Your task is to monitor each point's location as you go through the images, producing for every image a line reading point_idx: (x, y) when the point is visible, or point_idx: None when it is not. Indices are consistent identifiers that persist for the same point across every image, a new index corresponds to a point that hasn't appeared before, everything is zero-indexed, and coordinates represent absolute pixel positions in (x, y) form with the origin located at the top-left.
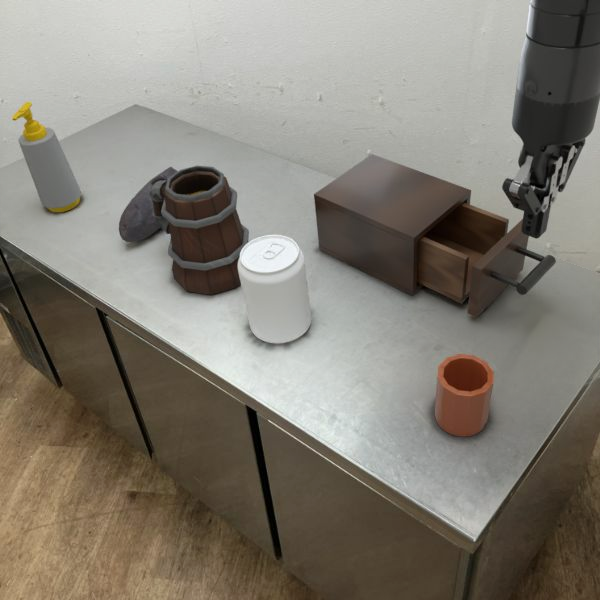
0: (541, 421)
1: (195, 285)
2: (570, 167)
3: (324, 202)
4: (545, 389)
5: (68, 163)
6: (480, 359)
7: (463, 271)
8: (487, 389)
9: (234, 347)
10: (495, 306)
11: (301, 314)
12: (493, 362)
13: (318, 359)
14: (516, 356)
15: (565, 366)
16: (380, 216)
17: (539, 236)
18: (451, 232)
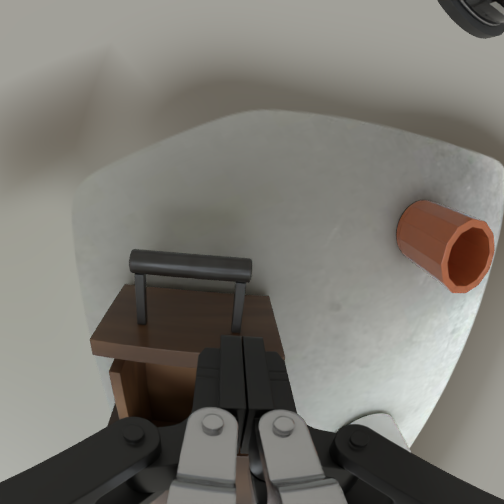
0: (391, 140)
1: None
2: (70, 488)
3: None
4: (340, 152)
5: None
6: (446, 253)
7: None
8: (482, 221)
9: (400, 431)
10: (216, 282)
11: (384, 433)
12: (328, 234)
13: (396, 385)
14: (301, 211)
15: (284, 141)
16: (249, 490)
17: (262, 339)
18: (145, 401)
